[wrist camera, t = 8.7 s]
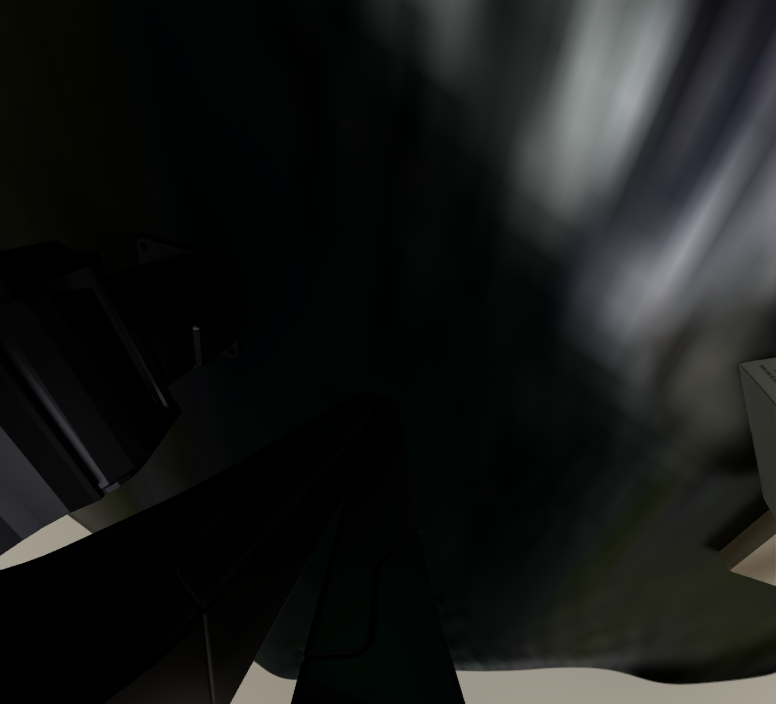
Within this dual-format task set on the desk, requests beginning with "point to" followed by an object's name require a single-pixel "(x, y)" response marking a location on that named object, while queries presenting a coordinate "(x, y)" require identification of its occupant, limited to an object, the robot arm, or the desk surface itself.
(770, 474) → the ink box
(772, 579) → the birch board
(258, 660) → the desk surface
